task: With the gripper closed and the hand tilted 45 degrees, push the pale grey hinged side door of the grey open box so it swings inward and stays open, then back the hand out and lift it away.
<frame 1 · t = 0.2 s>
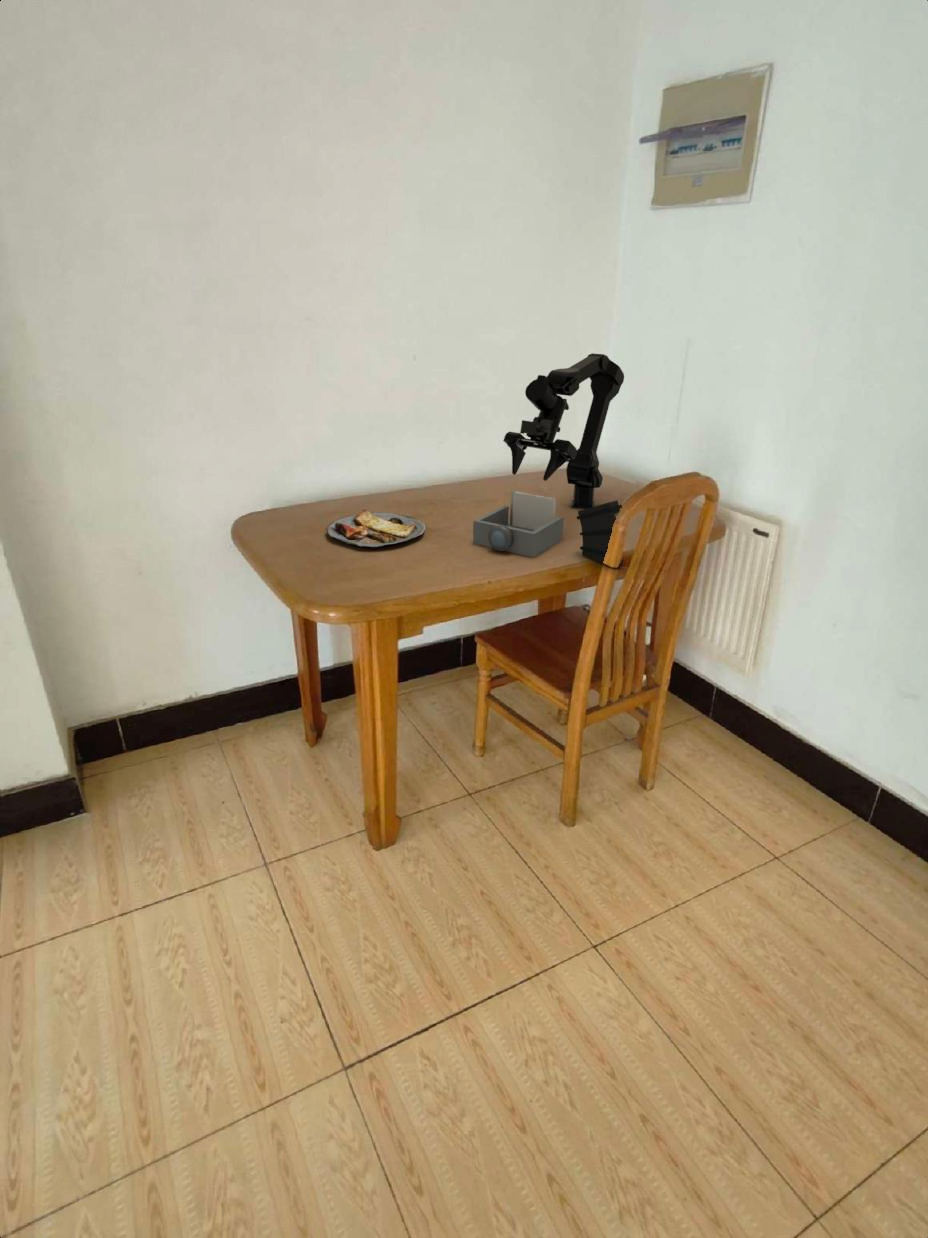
hand: (528, 477, 182), 15 cm above the table, tool tilted 35°, fingers open, 9 cm apart
grey open box: (534, 533, 188), on the table
food plate: (376, 535, 188), on the table
black ribbed curved block: (598, 560, 172), on the table
side door: (532, 511, 186), point 6 cm above the table, hinge at 0.0°
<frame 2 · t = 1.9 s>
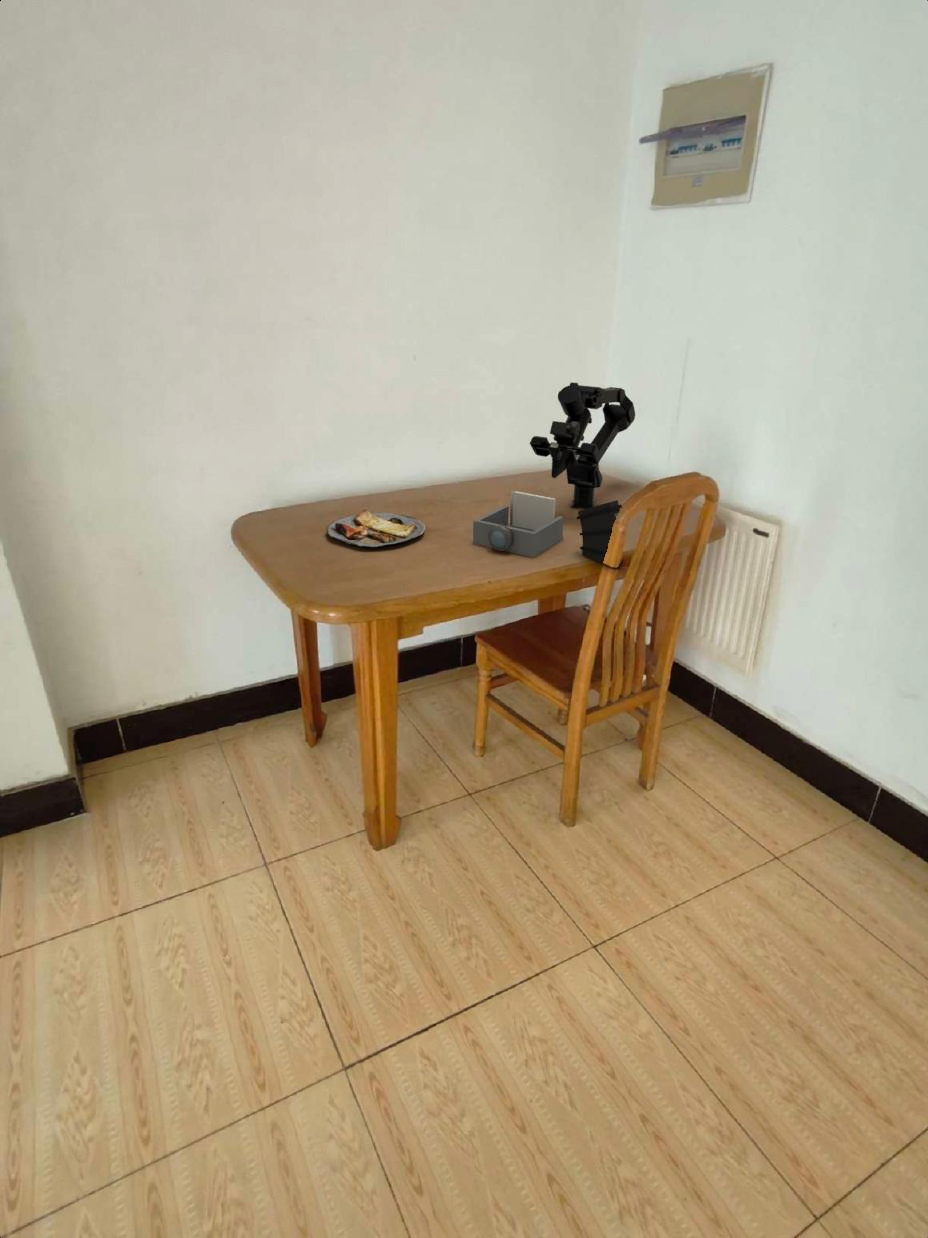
hand: (553, 477, 189), 13 cm above the table, tool tilted 45°, fingers closed
nothing on the table moved.
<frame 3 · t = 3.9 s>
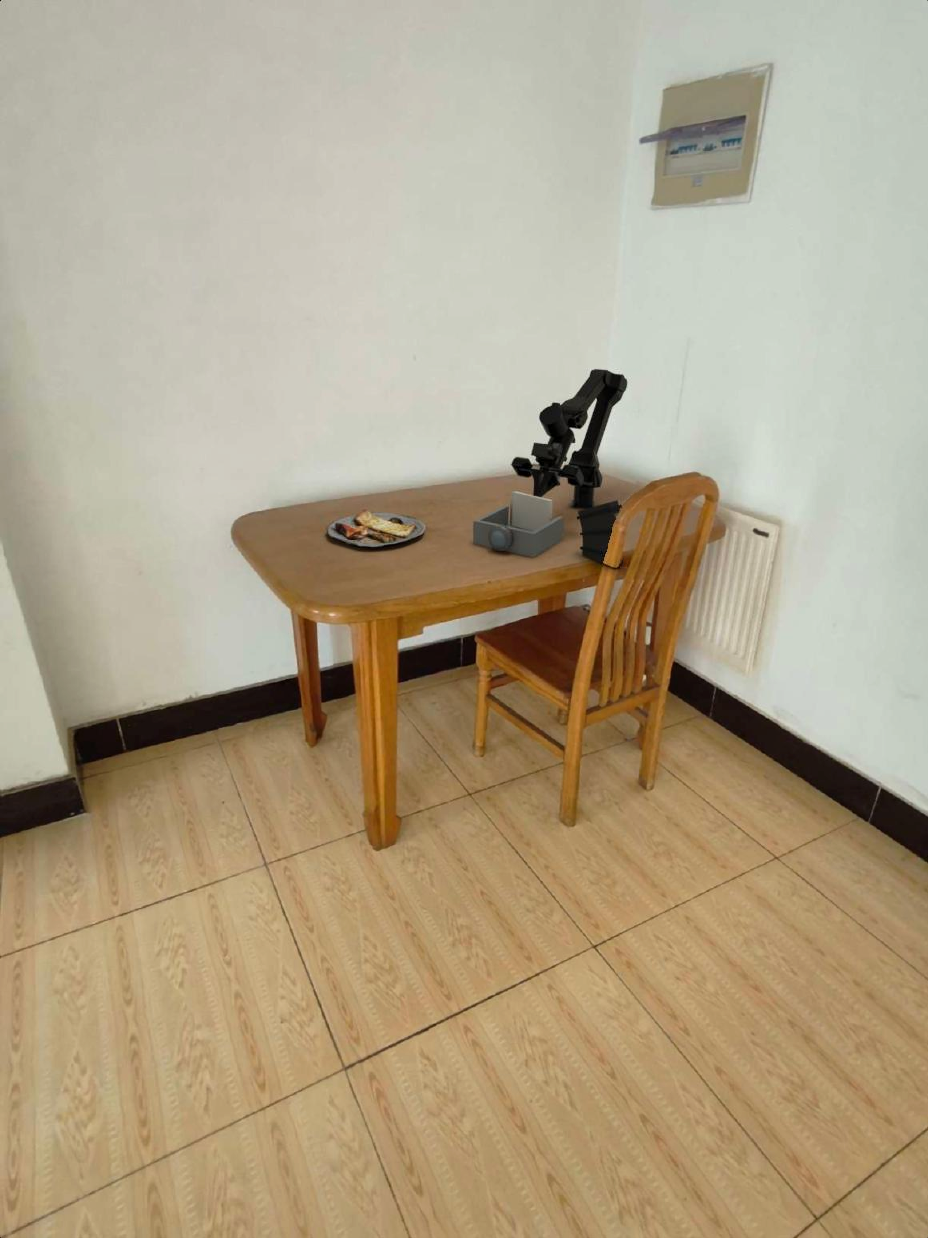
hand: (534, 499, 184), 9 cm above the table, tool tilted 45°, fingers closed, pressing on side door
side door: (531, 512, 185), point 6 cm above the table, hinge at 7.3°, touching gripper
everything else where it was.
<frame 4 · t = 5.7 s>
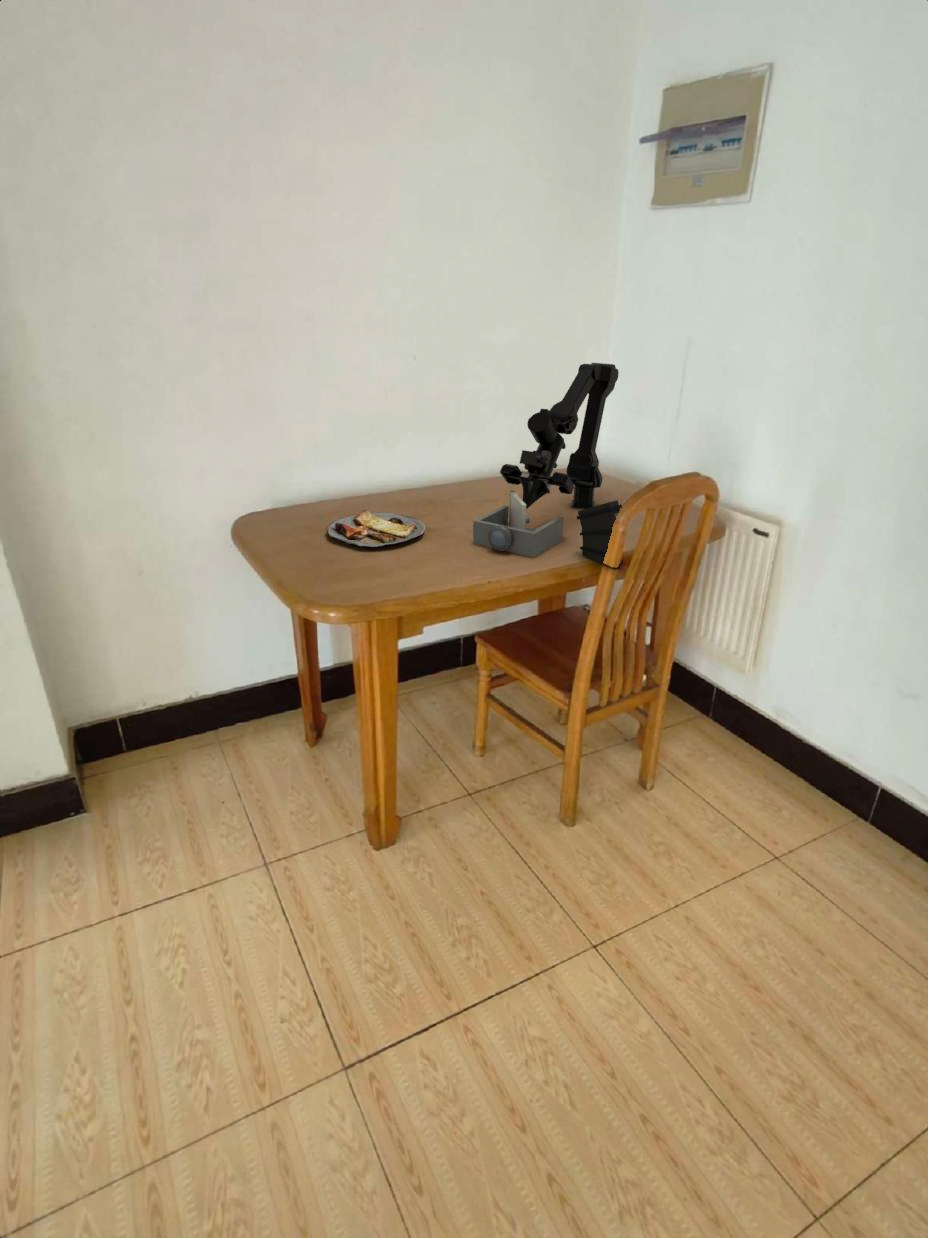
hand: (524, 508, 180), 8 cm above the table, tool tilted 45°, fingers closed
side door: (519, 514, 184), point 6 cm above the table, hinge at 45.7°, touching gripper
everything else where it was.
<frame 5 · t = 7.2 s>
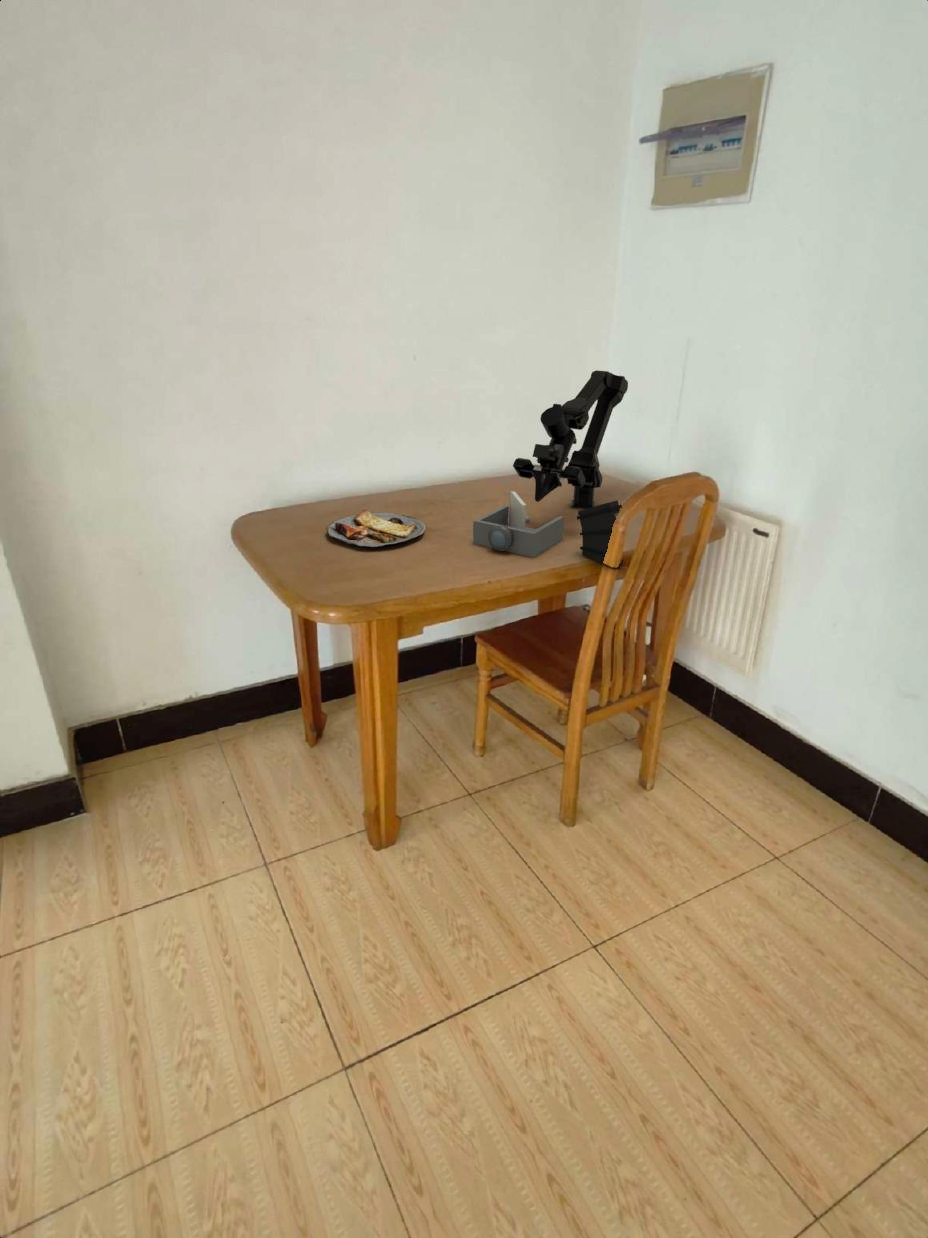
hand: (536, 500, 184), 9 cm above the table, tool tilted 45°, fingers closed
side door: (519, 514, 184), point 6 cm above the table, hinge at 45.8°
everything else where it was.
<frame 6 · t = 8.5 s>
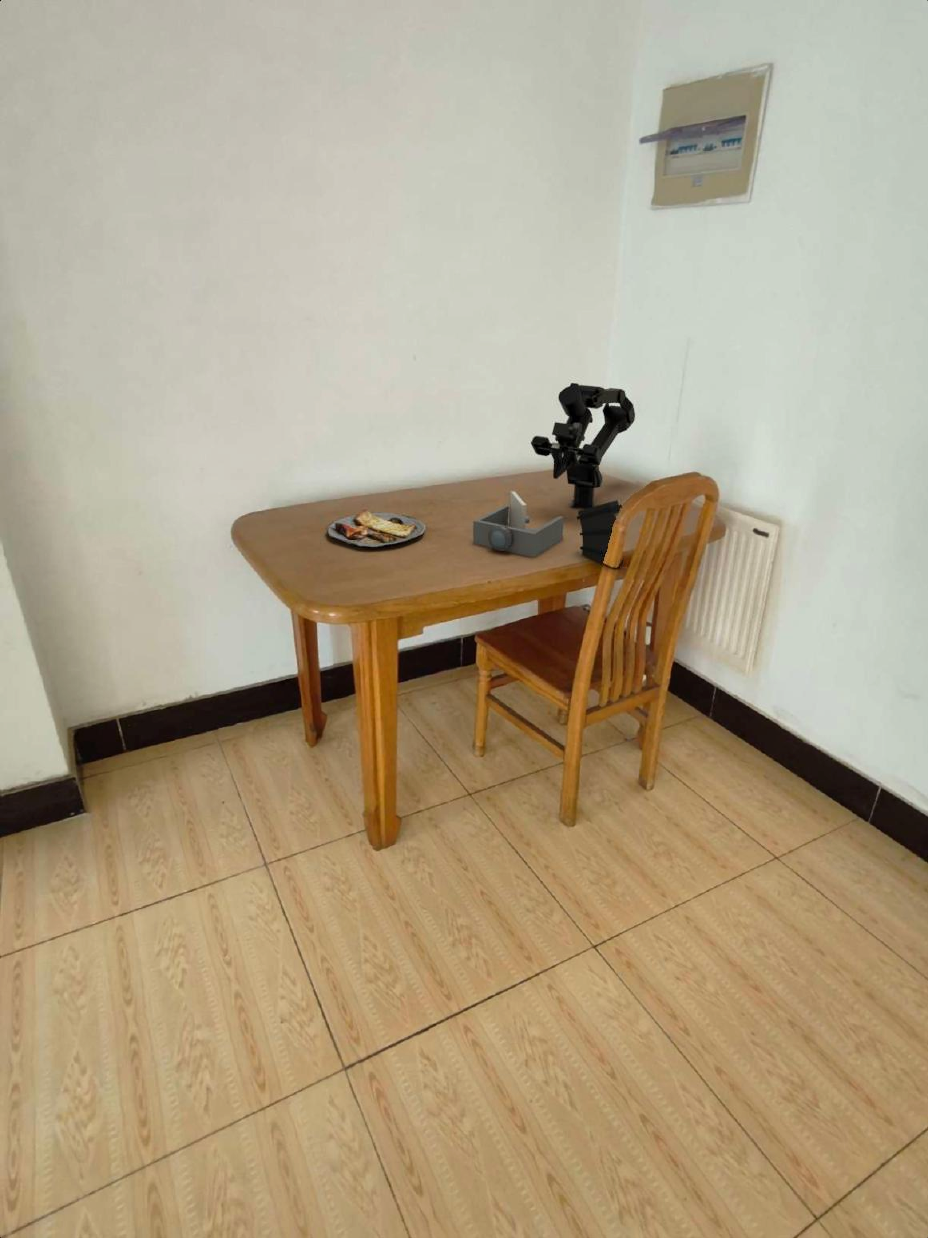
hand: (554, 477, 190), 13 cm above the table, tool tilted 45°, fingers closed
nothing on the table moved.
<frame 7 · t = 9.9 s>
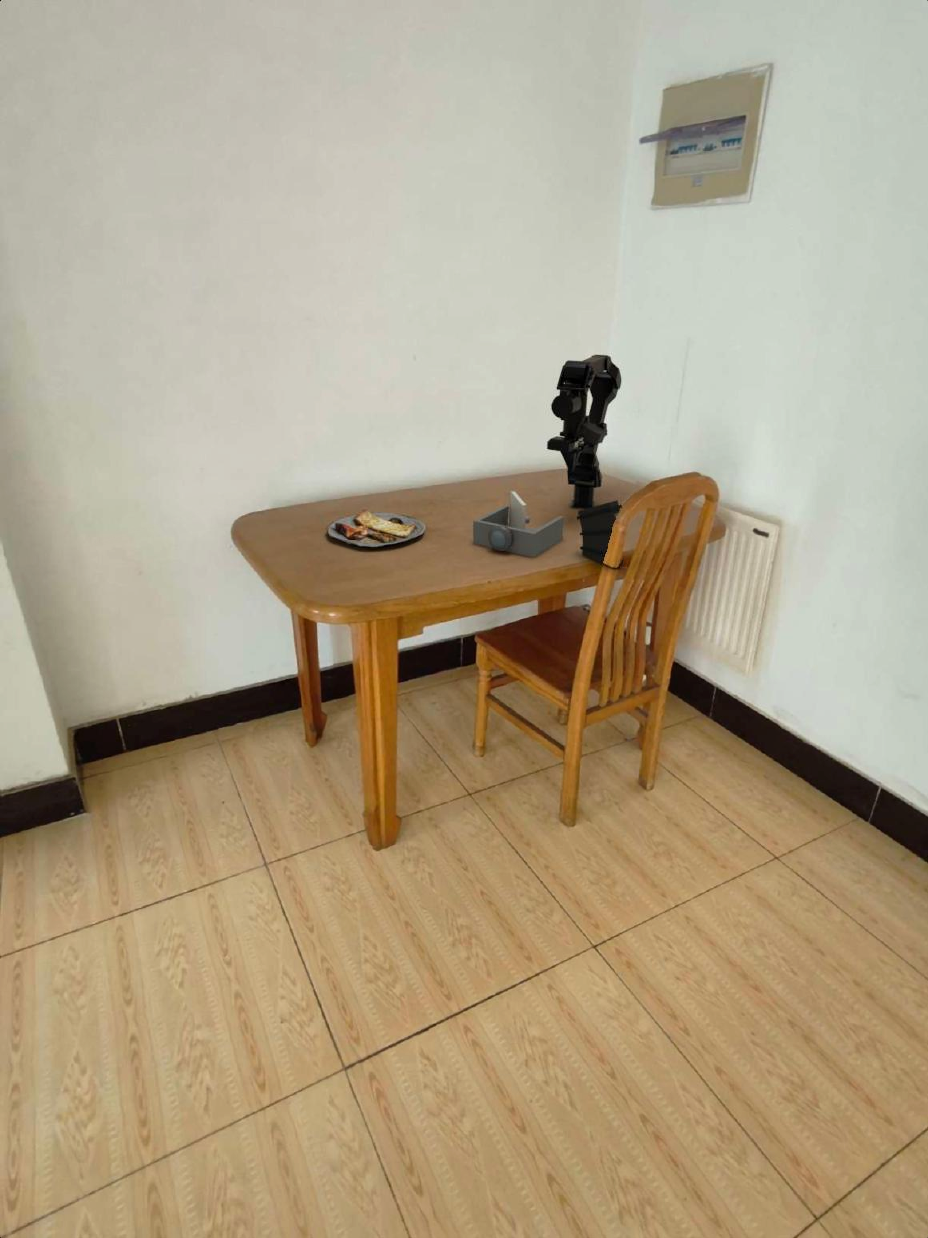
hand: (571, 471, 194), 13 cm above the table, tool pointing down, fingers closed
nothing on the table moved.
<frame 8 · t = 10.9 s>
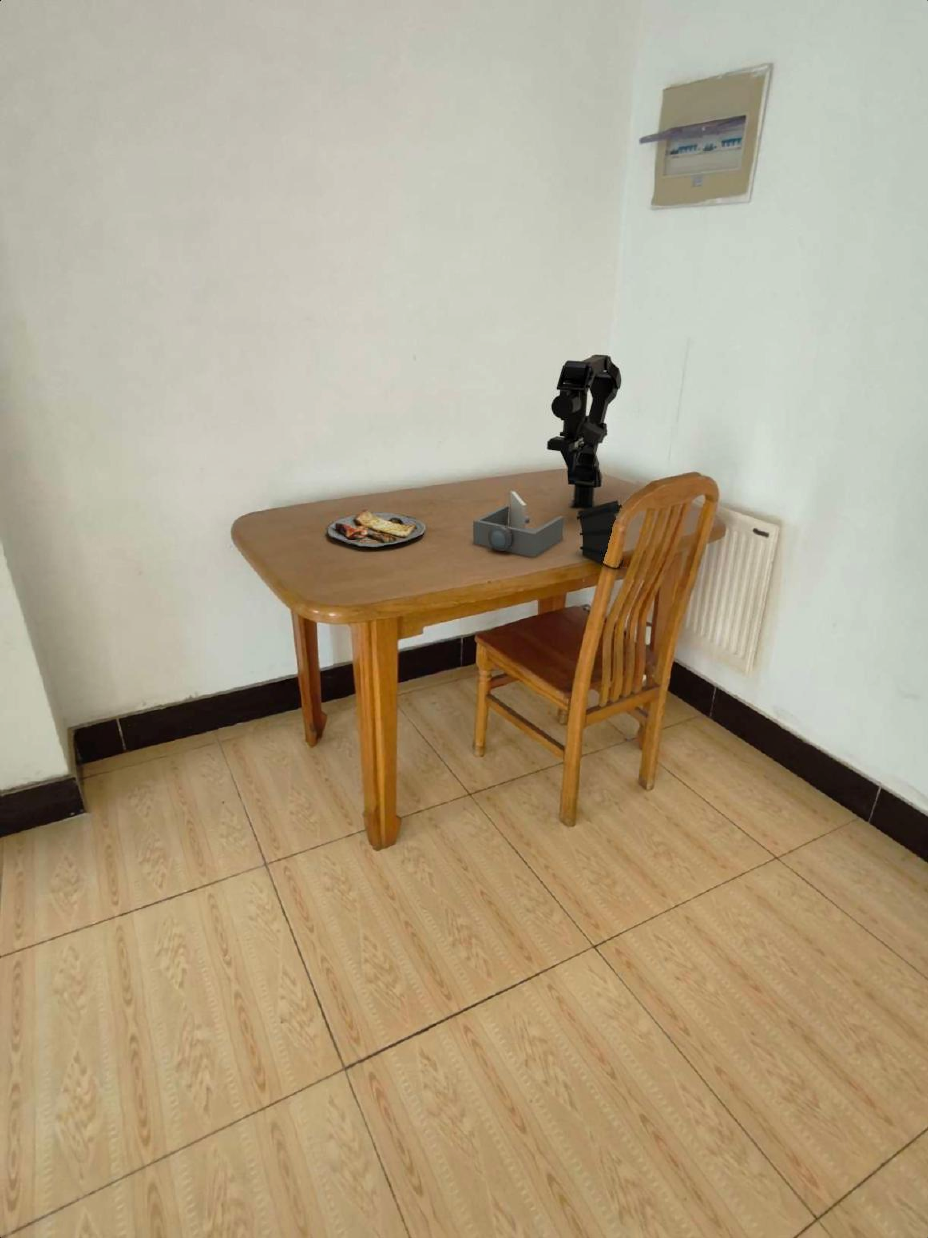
hand: (571, 471, 194), 13 cm above the table, tool pointing down, fingers closed
nothing on the table moved.
at the end: side door at +46° (first picture: +0°); black ribbed curved block moved 0.2 cm from its start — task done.
